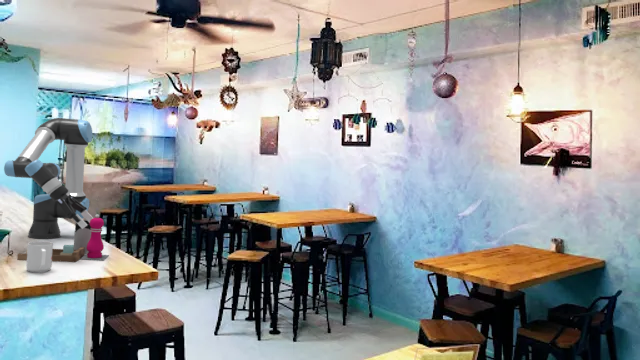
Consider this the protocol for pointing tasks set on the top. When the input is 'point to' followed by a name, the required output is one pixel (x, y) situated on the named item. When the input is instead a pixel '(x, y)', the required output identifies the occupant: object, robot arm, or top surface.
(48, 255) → the mug
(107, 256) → the mat
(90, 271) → the top surface
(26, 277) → the top surface
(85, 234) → the glass holder
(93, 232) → the pepper mill
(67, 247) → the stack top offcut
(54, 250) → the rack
